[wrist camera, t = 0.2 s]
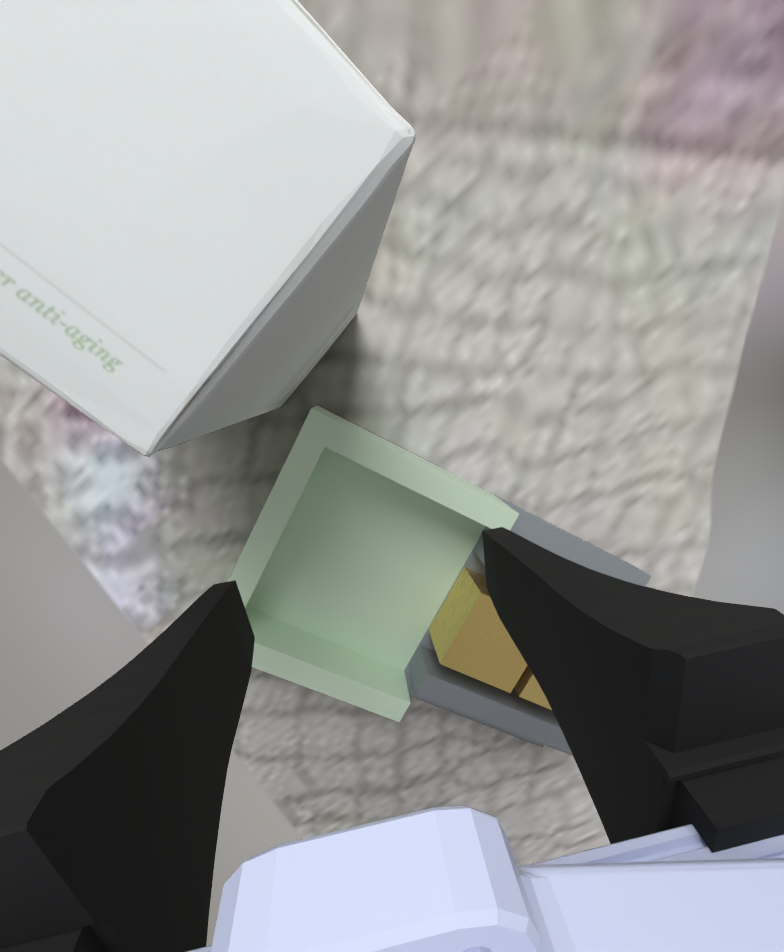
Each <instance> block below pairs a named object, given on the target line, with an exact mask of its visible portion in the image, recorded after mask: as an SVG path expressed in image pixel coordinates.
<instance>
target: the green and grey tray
mask: <svg viewBox="0 0 784 952" xmlns="http://www.w3.org/2000/svg"><path fill="white" fill-rule="evenodd" d="M499 527H503V528H506V529H508V530H510V531H512V532H514V533H516V534H518V535H520V536H521V537H523V538H525V539H527V540H529V541H531V542H533V543H535V544H537V545H539V546H541V547H543V548H545V549H547V550H549V551H551V552H553V553H555V554H557V555H559V556H561V557H563V558H566V559H568V560H570V561H573V562H575V563H577V564H580V565H582V566H584V567H587V568H589V569H592V570H594V571H597V572H600V573H603V574H606V575H609V576H612V577H615V578H617V579H620V580H624V581H627V582H630V583H634V584H637V585H641V586H645V585H646V584H647V582H648V581H649V579H650V577H651V576H650V575H648V574H646V573H645V572H643V571H642V570H640V569H638V568H637V567H635V566H633V565H631V564H629V563H627V562H625V561H623V560H621V559H619V558H617V557H615V556H613V555H611V554H609V553H607V552H605V551H603V550H601V549H599V548H597V547H595V546H593V545H591V544H589V543H587V542H585V541H583V540H582V539H580V538H578V537H576V536H574V535H572V534H570V533H568V532H566V531H564V530H562V529H560V528H558V527H556V526H554V525H552V524H550V523H548V522H546V521H544V520H542V519H540V518H538V517H536V516H534V515H532V514H530V513H528V512H526V511H524V510H522V509H520V508H518V507H517V506H515V505H513V504H511V503H509V502H507V501H505V500H503V499H501V498H499V497H497V496H495V495H493V494H491V493H489V492H487V491H485V490H483V489H481V488H479V487H477V486H475V485H473V484H471V483H469V482H467V481H465V480H463V479H461V478H459V477H457V476H455V475H454V474H452V473H450V472H448V471H446V470H444V469H442V468H440V467H438V466H436V465H434V464H432V463H430V462H428V461H426V460H424V459H422V458H420V457H418V456H416V455H414V454H412V453H410V452H408V451H406V450H404V449H402V448H400V447H398V446H396V445H394V444H392V443H391V442H389V441H387V440H385V439H383V438H381V437H379V436H377V435H375V434H373V433H371V432H369V431H367V430H365V429H363V428H361V427H359V426H357V425H355V424H353V423H351V422H349V421H347V420H345V419H343V418H341V417H339V416H337V415H335V414H333V413H331V412H329V411H327V410H326V409H324V408H322V407H320V406H318V405H316V406H315V407H313V408H311V410H310V412H309V414H308V416H307V418H306V420H305V422H304V424H303V426H302V428H301V430H300V432H299V434H298V437H297V439H296V441H295V443H294V445H293V447H292V449H291V451H290V453H289V455H288V457H287V459H286V461H285V463H284V466H283V468H282V470H281V472H280V474H279V476H278V478H277V480H276V482H275V484H274V486H273V488H272V490H271V492H270V494H269V497H268V499H267V501H266V503H265V505H264V507H263V509H262V511H261V513H260V515H259V517H258V519H257V521H256V523H255V526H254V528H253V530H252V532H251V534H250V536H249V538H248V540H247V542H246V544H245V546H244V548H243V550H242V552H241V555H240V557H239V559H238V561H237V563H236V565H235V567H234V569H233V571H232V573H231V575H230V577H229V579H228V581H227V582H229V581H234V580H236V583H237V586H238V589H239V592H240V595H241V598H242V601H243V604H244V607H245V610H246V613H247V616H248V618H249V621H250V624H251V627H252V630H253V633H254V636H255V641H254V652H253V661H252V667H253V668H256V669H259V670H261V671H264V672H266V673H269V674H272V675H274V676H277V677H280V678H282V679H285V680H288V681H290V682H293V683H296V684H298V685H301V686H304V687H306V688H309V689H312V690H314V691H317V692H320V693H322V694H325V695H328V696H330V697H333V698H336V699H338V700H341V701H344V702H346V703H349V704H352V705H354V706H357V707H360V708H362V709H365V710H368V711H370V712H373V713H376V714H378V715H381V716H384V717H386V718H389V719H392V720H394V721H397V722H400V721H401V719H402V717H403V715H404V714H405V712H406V710H407V708H408V707H409V705H410V703H411V702H410V697H409V695H410V696H413V697H415V698H418V699H420V700H423V701H425V702H428V703H431V704H433V705H436V706H438V707H441V708H443V709H446V710H448V711H451V712H454V713H456V714H459V715H461V716H464V717H466V718H469V719H472V720H474V721H477V722H479V723H482V724H484V725H487V726H490V727H492V728H495V729H497V730H500V731H502V732H505V733H507V734H510V735H513V736H515V737H518V738H520V739H523V740H525V741H528V742H531V743H533V744H536V745H538V746H541V747H543V745H547V746H549V747H552V748H554V749H557V750H560V751H562V752H565V753H567V754H570V755H572V756H573V754H572V752H571V750H570V748H569V745H568V743H567V741H566V739H565V737H564V734H563V732H562V730H561V728H560V726H559V724H558V722H557V719H556V717H555V715H554V713H553V711H552V710H550V709H548V708H545V707H543V706H541V705H538V704H536V703H533V702H531V701H528V700H526V699H524V698H521V697H519V696H518V694H517V692H516V690H515V689H514V688H513V690H512V691H511V693H509V692H506V691H504V690H502V689H499V688H497V687H494V686H492V685H489V684H487V683H485V682H482V681H480V680H477V679H475V678H472V677H470V676H468V675H465V674H463V673H460V672H458V671H455V670H453V669H451V668H448V667H446V666H443V665H441V664H440V663H439V660H438V657H437V654H436V651H435V648H434V645H433V642H432V639H431V636H430V633H429V630H428V629H429V627H430V626H431V624H432V622H433V620H434V618H435V617H436V615H437V613H438V611H439V610H440V608H441V606H442V604H443V603H444V601H445V599H446V597H447V596H448V594H449V592H450V590H451V588H452V587H453V585H454V583H455V581H456V580H457V578H458V576H459V574H460V573H461V571H462V569H463V567H466V568H468V569H471V570H473V571H475V572H477V573H479V574H481V575H483V576H486V572H485V561H484V549H483V537H482V531H484V530H489V529H494V528H499Z"/></svg>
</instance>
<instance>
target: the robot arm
mask: <svg viewBox="0 0 784 952" xmlns="http://www.w3.org/2000/svg"><path fill="white" fill-rule="evenodd" d="M482 537H483V549H484V561H485V572H486V584H487V590H488V593H489V595H490V597H491V600H492V602H493V605H494V607H495V609H496V611H497V614H498V616H499V618H500V620H501V621H502V623H503V625H504V627H505V628H506V630H507V632H508V633H509V635H510V637H511V638H512V640H513V642H514V643H515V645H516V647H517V648H518V650H519V652H520V653H521V655H522V657H523V658H524V660H525V662H526V663H527V665H528V667H529V668H530V670H531V672H532V673H533V675H534V677H535V678H536V680H537V682H538V683H539V685H540V687H541V689H542V691H543V693H544V694H545V696H546V698H547V700H548V703H549V705H550V707H551V709H552V711H553V713H554V715H555V717H556V719H557V722H558V724H559V726H560V728H561V730H562V732H563V734H564V737H565V739H566V741H567V743H568V745H569V748H570V750H571V752H572V754H573V757H574V759H575V761H576V763H577V765H578V768H579V770H580V772H581V774H582V777H583V779H584V781H585V784H586V786H587V788H588V791H589V793H590V795H591V798H592V800H593V802H594V805H595V807H596V809H597V812H598V814H599V816H600V819H601V821H602V824H603V826H604V828H605V831H606V833H607V836H608V838H609V841H610V843H611V844H610V845H606V846H602V847H598V848H594V849H590V850H586V851H582V852H578V853H574V854H570V855H566V856H563V857H559V858H555V859H551V860H547V861H543V862H539V863H535V864H531V865H516V862H515V859H514V856H513V853H512V850H511V847H510V844H509V841H508V838H507V836H506V834H505V832H504V830H503V829H502V827H501V825H500V823H499V822H498V820H497V818H495V817H493V816H491V815H488V814H486V813H483V812H481V811H478V810H475V809H473V808H470V807H468V806H449V807H433V808H429V809H425V810H421V811H417V812H413V813H409V814H404V815H400V816H396V817H392V818H388V819H384V820H379V821H375V822H371V823H367V824H363V825H359V826H354V827H350V828H346V829H342V830H338V831H334V832H329V833H325V834H321V835H317V836H313V837H309V838H304V839H300V840H296V841H292V842H288V843H284V844H280V845H278V846H275V847H273V848H271V849H268V850H266V851H263V852H261V853H259V854H257V855H254V856H252V857H250V858H248V859H247V860H246V861H245V862H244V863H243V864H242V865H241V866H240V867H239V868H238V870H237V871H236V872H235V873H234V874H233V875H232V876H231V877H230V879H229V880H228V881H227V882H226V883H225V884H224V887H223V892H222V897H221V902H220V907H219V912H218V918H217V923H216V928H215V933H214V938H213V943H212V945H210V946H206V941H207V929H208V917H209V907H210V898H211V888H212V878H213V869H214V860H215V852H216V844H217V837H218V829H219V821H220V813H221V806H222V799H223V793H224V786H225V780H226V773H227V768H228V763H229V758H230V753H231V749H232V745H233V741H234V737H235V733H236V730H237V726H238V722H239V718H240V714H241V710H242V706H243V702H244V698H245V694H246V690H247V686H248V682H249V678H250V674H251V669H252V661H253V652H254V641H255V636H254V633H253V630H252V627H251V624H250V621H249V618H248V616H247V613H246V610H245V607H244V604H243V601H242V598H241V595H240V592H239V589H238V586H237V583H236V580H234V581H229V582H224V583H219V584H214V585H213V586H212V587H210V588H209V589H208V590H207V591H206V592H205V593H204V594H202V595H201V596H200V597H199V598H198V599H197V600H196V601H195V602H194V603H193V604H192V605H191V606H190V607H189V608H188V609H187V610H186V611H185V612H184V613H183V614H182V615H181V616H180V617H179V618H178V619H176V620H175V621H174V622H173V623H172V624H171V625H170V626H169V627H168V628H167V629H166V630H165V631H164V632H163V633H162V634H161V635H160V636H158V637H157V638H156V639H155V640H154V641H153V642H152V643H151V644H149V645H148V646H147V647H146V648H145V649H144V650H143V651H142V652H140V653H139V654H138V655H137V656H136V657H135V658H134V659H133V660H131V661H130V662H129V663H128V664H127V665H125V666H124V667H123V668H122V669H120V670H119V671H118V672H117V673H116V674H114V675H113V676H112V677H111V678H109V679H108V680H106V681H105V682H104V683H102V684H101V685H100V686H99V687H97V688H96V689H95V690H93V691H92V692H90V693H89V694H88V695H86V696H85V697H83V698H82V699H80V700H79V701H78V702H76V703H74V704H73V705H72V706H70V707H69V708H67V709H66V710H64V711H63V712H61V713H60V714H58V715H57V716H55V717H54V718H53V719H51V720H49V721H48V722H46V723H45V724H43V725H42V726H40V727H39V728H37V729H35V730H34V731H32V732H31V733H29V734H27V735H26V736H24V737H22V738H21V739H19V740H18V741H16V742H14V743H12V744H11V745H9V746H7V747H6V748H4V749H2V750H0V952H784V615H783V614H782V613H780V612H779V611H777V610H776V609H773V608H764V607H756V606H748V605H740V604H731V603H723V602H716V601H710V600H705V599H699V598H694V597H688V596H683V595H678V594H674V593H669V592H664V591H660V590H656V589H653V588H649V587H645V586H641V585H637V584H634V583H630V582H627V581H624V580H620V579H617V578H615V577H612V576H609V575H606V574H603V573H600V572H597V571H594V570H592V569H589V568H587V567H584V566H582V565H580V564H577V563H575V562H573V561H570V560H568V559H566V558H563V557H561V556H559V555H557V554H555V553H553V552H551V551H549V550H547V549H545V548H543V547H541V546H539V545H537V544H535V543H533V542H531V541H529V540H527V539H525V538H523V537H521V536H520V535H518V534H516V533H514V532H512V531H510V530H508V529H506V528H503V527H499V528H494V529H489V530H484V531H482Z"/></svg>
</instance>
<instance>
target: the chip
mask: <svg viewBox="0 0 784 952" xmlns="http://www.w3.org/2000/svg"><path fill="white" fill-rule="evenodd" d="M428 630H429V633H430V636H431V639H432V642H433V645H434V648H435V651H436V654H437V657H438V660H439V663H440V664H441V665H443V666H446V667H448V668H451V669H453V670H455V671H458V672H460V673H463V674H465V675H468V676H470V677H472V678H475V679H477V680H480V681H482V682H485V683H487V684H489V685H492V686H494V687H497V688H499V689H502V690H504V691H506V692H509V693H511V691H512V690H513V688H514V687H515V685H516V683H517V682H518V680H519V678H520V677H521V675H522V673H523V672H524V670H525V669H526V667H527V663H526V662H525V660H524V658H523V657H522V655H521V653H520V652H519V650H518V648H517V647H516V645H515V643H514V642H513V640H512V638H511V637H510V635H509V633H508V632H507V630H506V628H505V627H504V625H503V623H502V621H501V620H500V618H499V616H498V614H497V611H496V609H495V607H494V605H493V602H492V600H491V597H490V595H489V593H488V590H487V584H486V576H483V575H481V574H479V573H477V572H475V571H473V570H471V569H468V568H466V567H463V569H462V571H461V573H460V574H459V576H458V578H457V580H456V581H455V583H454V585H453V587H452V588H451V590H450V592H449V594H448V596H447V597H446V599H445V601H444V603H443V604H442V606H441V608H440V610H439V611H438V613H437V615H436V617H435V618H434V620H433V622H432V624H431V626H430V627H429V629H428Z"/></svg>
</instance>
